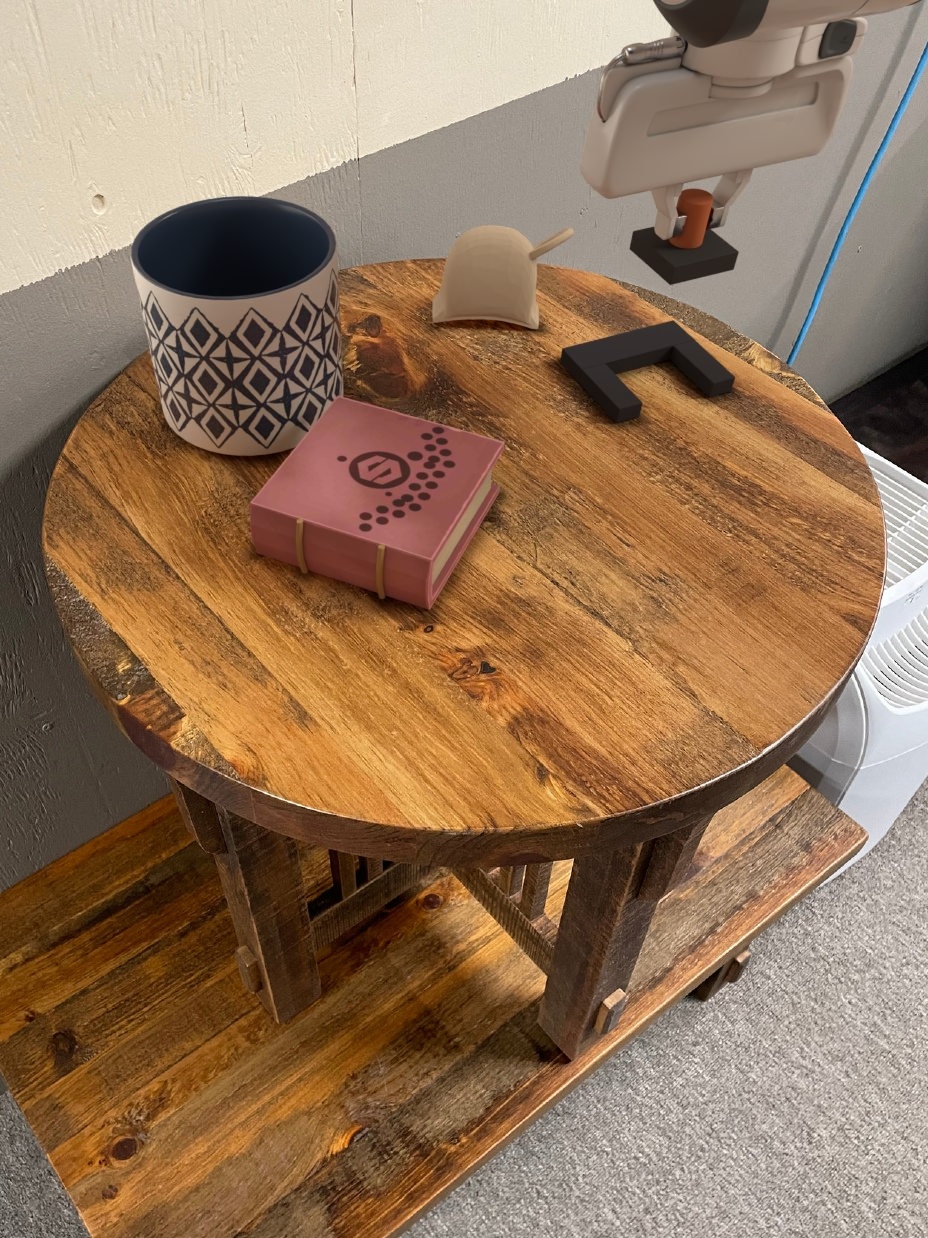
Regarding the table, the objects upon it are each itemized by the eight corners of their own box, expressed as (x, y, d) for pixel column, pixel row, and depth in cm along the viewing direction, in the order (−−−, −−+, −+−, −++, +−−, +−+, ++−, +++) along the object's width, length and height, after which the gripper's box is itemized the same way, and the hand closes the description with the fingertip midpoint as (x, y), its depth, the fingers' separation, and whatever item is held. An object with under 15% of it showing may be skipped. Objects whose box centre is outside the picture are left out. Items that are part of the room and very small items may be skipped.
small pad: (691, 234, 82) (706, 171, 78) (733, 269, 79) (752, 205, 75) (628, 248, 81) (641, 185, 77) (669, 285, 78) (685, 221, 74)
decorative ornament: (434, 289, 99) (439, 207, 93) (560, 298, 99) (574, 217, 92) (430, 323, 96) (435, 240, 89) (561, 332, 95) (575, 250, 89)
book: (251, 560, 76) (244, 509, 72) (340, 446, 84) (337, 395, 80) (424, 617, 72) (426, 567, 68) (499, 492, 81) (504, 441, 77)
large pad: (670, 334, 95) (673, 319, 94) (731, 391, 89) (736, 376, 88) (559, 362, 92) (561, 347, 91) (616, 423, 86) (619, 408, 85)
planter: (341, 349, 93) (334, 192, 82) (347, 457, 84) (340, 295, 72) (170, 355, 93) (139, 197, 81) (156, 464, 83) (118, 302, 72)
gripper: (631, 66, 63) (594, 276, 74) (888, 21, 68) (818, 223, 79) (581, 31, 66) (553, 236, 77) (829, -10, 71) (769, 188, 82)
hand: (688, 230), depth 78 cm, fingers closed on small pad, 2 cm apart
